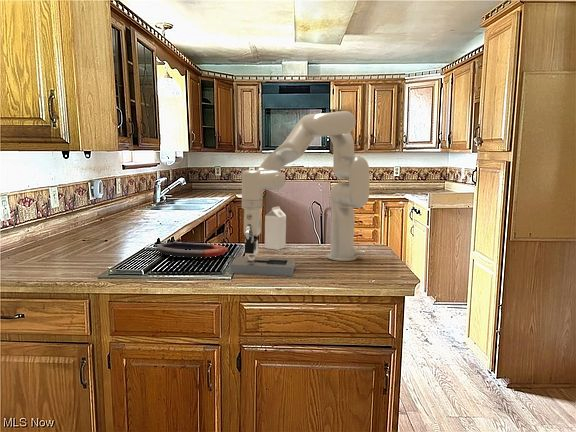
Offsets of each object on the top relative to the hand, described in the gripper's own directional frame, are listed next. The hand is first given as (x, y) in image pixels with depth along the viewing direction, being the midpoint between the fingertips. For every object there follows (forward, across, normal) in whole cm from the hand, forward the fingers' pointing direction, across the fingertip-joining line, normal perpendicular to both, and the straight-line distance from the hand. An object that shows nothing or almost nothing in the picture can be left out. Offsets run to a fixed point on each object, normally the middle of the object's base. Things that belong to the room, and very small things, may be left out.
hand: (251, 250), depth 159 cm
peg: (+7, 0, 0) cm, 7 cm away
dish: (+8, +17, +28) cm, 34 cm away
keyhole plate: (+7, 0, -5) cm, 9 cm away
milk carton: (+7, +39, -4) cm, 40 cm away
